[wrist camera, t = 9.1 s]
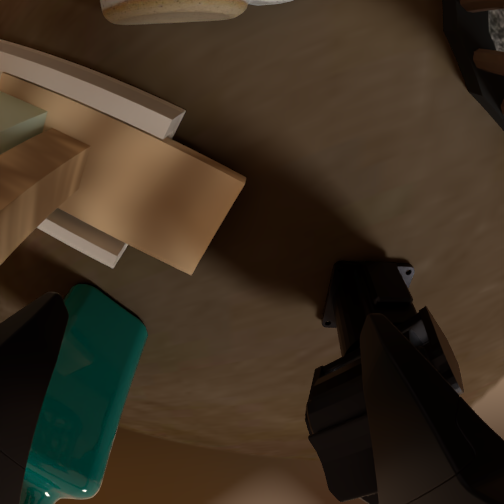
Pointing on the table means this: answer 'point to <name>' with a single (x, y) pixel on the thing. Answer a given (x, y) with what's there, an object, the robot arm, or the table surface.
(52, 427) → the green bottle
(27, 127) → the block
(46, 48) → the table surface
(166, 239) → the wooden stair steps
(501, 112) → the lantern
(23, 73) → the lane board
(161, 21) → the ceramic mug
